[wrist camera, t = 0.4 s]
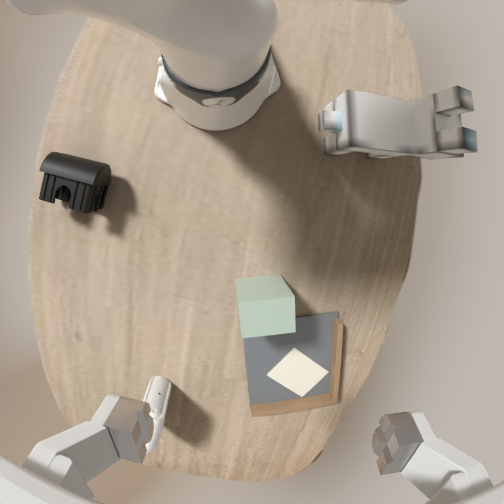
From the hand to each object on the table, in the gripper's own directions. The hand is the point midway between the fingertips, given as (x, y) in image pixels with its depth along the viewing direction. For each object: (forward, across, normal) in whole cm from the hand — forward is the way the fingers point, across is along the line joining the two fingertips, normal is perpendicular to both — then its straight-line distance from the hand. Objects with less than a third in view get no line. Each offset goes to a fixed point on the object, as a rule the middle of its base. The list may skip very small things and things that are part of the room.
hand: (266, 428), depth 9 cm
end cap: (+35, +29, -6) cm, 45 cm away
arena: (+37, -6, +24) cm, 44 cm away
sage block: (+37, 0, +11) cm, 39 cm away
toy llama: (+41, -14, -15) cm, 46 cm away
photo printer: (+33, +18, +32) cm, 49 cm away
